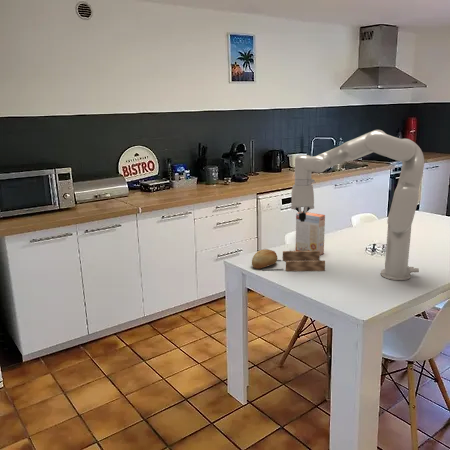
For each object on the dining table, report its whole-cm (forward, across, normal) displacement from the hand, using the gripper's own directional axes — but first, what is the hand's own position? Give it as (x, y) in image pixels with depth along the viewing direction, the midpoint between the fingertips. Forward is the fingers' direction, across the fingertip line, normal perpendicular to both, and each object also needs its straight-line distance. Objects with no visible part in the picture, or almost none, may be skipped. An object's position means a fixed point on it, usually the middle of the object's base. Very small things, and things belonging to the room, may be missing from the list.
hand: (302, 221), depth 211 cm
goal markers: (+22, +14, 0) cm, 26 cm away
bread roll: (+22, +17, 0) cm, 28 cm away
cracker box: (+22, -7, -19) cm, 30 cm away
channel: (+22, -1, 0) cm, 22 cm away
